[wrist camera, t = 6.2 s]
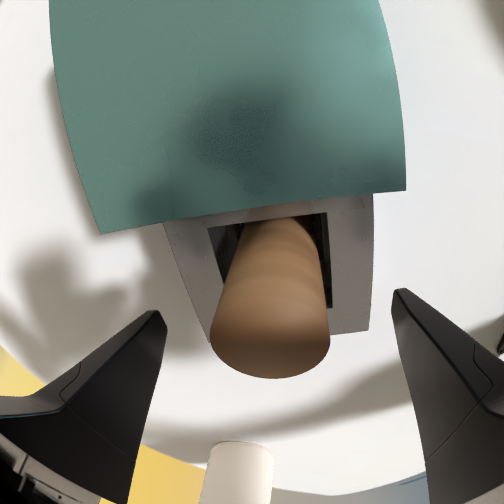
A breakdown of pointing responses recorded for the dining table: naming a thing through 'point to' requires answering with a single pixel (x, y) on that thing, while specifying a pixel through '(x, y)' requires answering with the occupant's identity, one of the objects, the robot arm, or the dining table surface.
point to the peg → (273, 301)
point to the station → (234, 128)
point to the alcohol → (238, 474)
